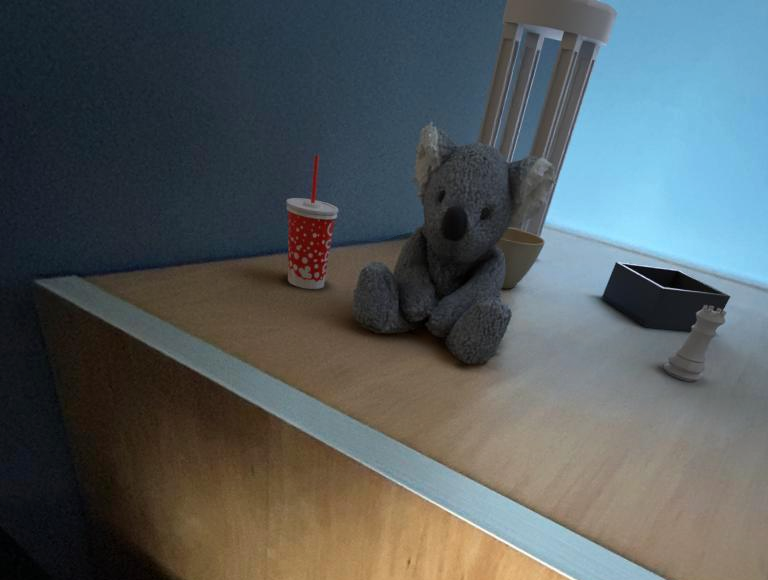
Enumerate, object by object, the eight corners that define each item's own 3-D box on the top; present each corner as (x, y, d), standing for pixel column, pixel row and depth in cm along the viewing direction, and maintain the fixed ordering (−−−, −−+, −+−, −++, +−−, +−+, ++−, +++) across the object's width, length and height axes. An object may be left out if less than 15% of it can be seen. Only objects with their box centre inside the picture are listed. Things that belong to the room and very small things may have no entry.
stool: (516, 272, 95) (600, -5, 74) (437, 246, 100) (494, -20, 79) (547, 261, 106) (627, 16, 85) (474, 237, 111) (533, 2, 90)
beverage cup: (311, 294, 69) (323, 162, 60) (271, 279, 71) (277, 148, 62) (339, 285, 73) (354, 161, 65) (301, 271, 75) (310, 149, 67)
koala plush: (339, 327, 62) (366, 112, 50) (396, 290, 76) (428, 115, 64) (489, 375, 59) (557, 157, 47) (520, 328, 73) (578, 150, 61)
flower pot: (483, 269, 93) (496, 221, 89) (538, 288, 89) (554, 240, 85) (454, 277, 86) (466, 226, 82) (512, 298, 82) (528, 246, 78)
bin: (662, 304, 95) (678, 270, 92) (710, 333, 86) (730, 296, 83) (601, 297, 92) (615, 261, 88) (644, 327, 83) (662, 288, 79)
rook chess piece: (700, 386, 67) (738, 320, 62) (662, 375, 68) (696, 308, 63) (697, 373, 71) (732, 309, 66) (661, 363, 71) (693, 299, 66)
